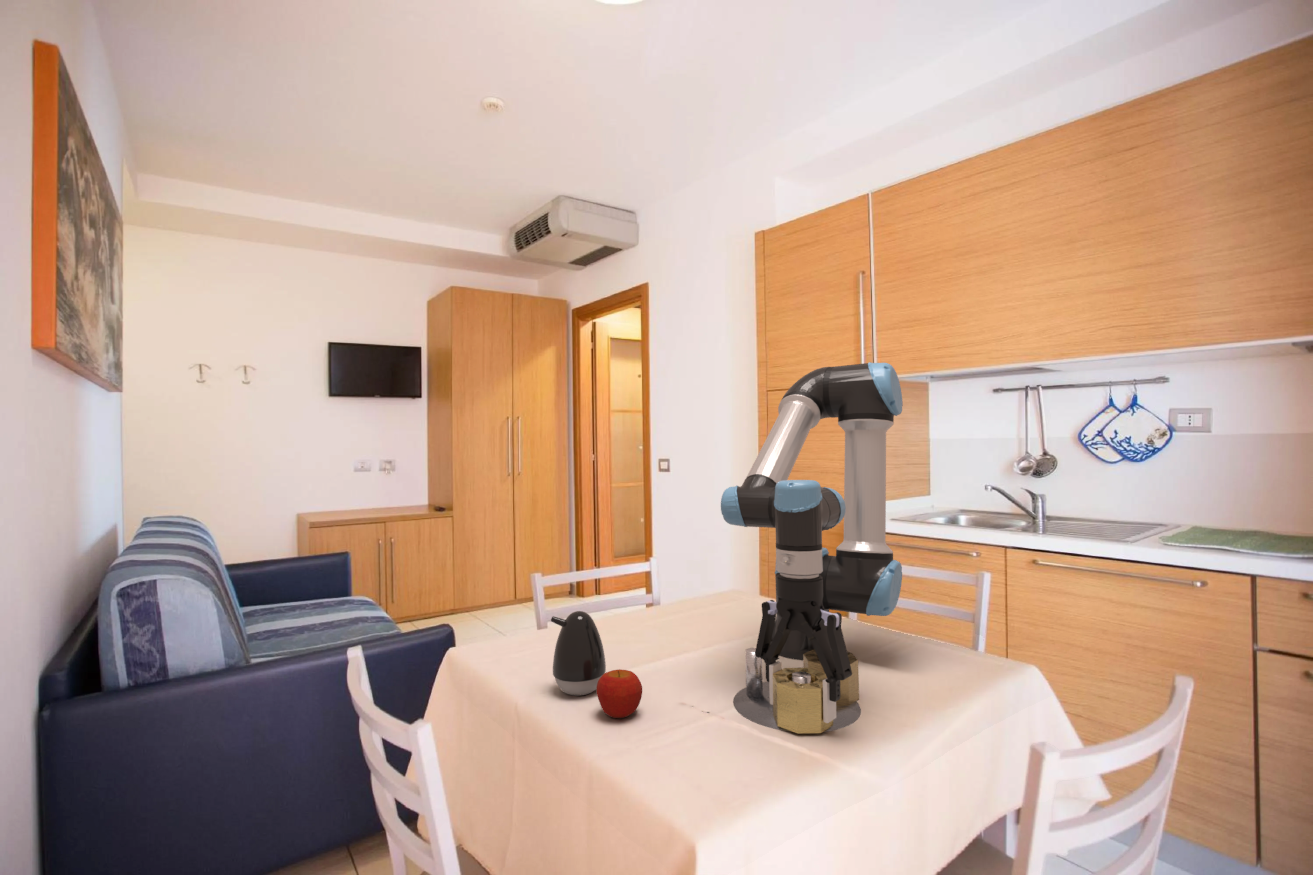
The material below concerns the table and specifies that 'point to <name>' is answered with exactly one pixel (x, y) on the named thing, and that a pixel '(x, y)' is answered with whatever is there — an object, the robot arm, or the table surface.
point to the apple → (619, 693)
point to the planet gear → (799, 701)
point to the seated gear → (847, 686)
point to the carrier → (757, 698)
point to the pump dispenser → (578, 654)
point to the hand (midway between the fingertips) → (802, 710)
